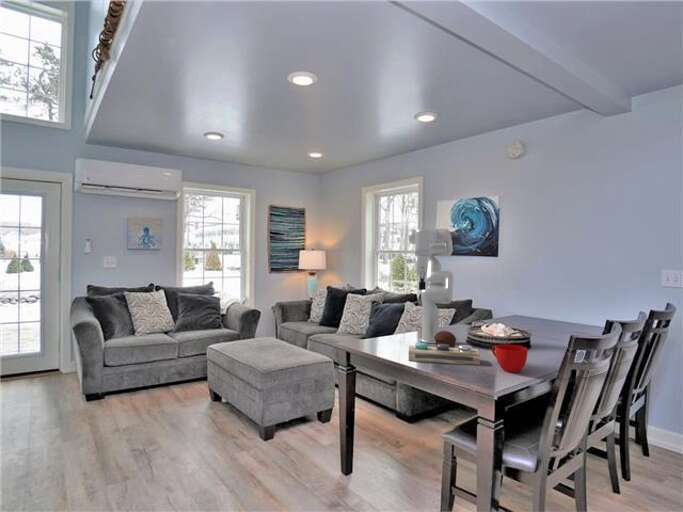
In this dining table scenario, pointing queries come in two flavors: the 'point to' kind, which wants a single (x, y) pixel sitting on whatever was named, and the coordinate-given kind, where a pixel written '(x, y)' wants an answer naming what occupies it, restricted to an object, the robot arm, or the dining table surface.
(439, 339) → the muffin
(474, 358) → the box
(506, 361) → the ceramic cup
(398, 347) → the dining table surface
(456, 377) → the dining table surface
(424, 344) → the teal knob
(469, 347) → the steel knob
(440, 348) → the dark gray knob
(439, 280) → the robot arm
